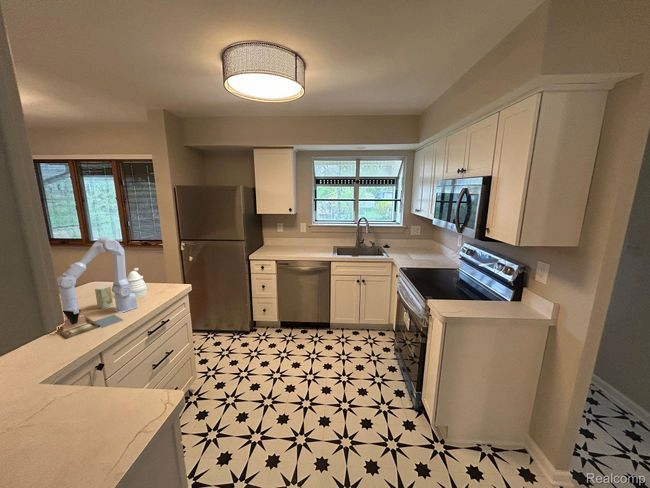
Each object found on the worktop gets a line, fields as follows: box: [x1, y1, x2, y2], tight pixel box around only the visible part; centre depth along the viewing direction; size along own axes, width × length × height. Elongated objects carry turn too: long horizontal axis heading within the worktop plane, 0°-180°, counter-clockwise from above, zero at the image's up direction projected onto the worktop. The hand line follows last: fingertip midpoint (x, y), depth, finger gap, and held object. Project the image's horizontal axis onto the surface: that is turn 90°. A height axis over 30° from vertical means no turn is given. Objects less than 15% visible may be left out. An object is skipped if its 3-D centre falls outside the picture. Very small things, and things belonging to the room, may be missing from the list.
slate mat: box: [93, 314, 124, 329], centre depth 143 cm, size 10×12×1 cm
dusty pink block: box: [60, 314, 87, 330], centre depth 137 cm, size 9×2×4 cm, turn 150°
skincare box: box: [94, 285, 114, 310], centre depth 159 cm, size 6×4×12 cm
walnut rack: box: [56, 315, 101, 340], centre depth 136 cm, size 13×19×2 cm
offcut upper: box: [68, 323, 94, 335], centre depth 133 cm, size 8×4×1 cm, turn 154°
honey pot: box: [126, 267, 148, 299], centre depth 177 cm, size 13×13×18 cm
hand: (73, 322), depth 137 cm, fingers closed on dusty pink block, 2 cm apart
